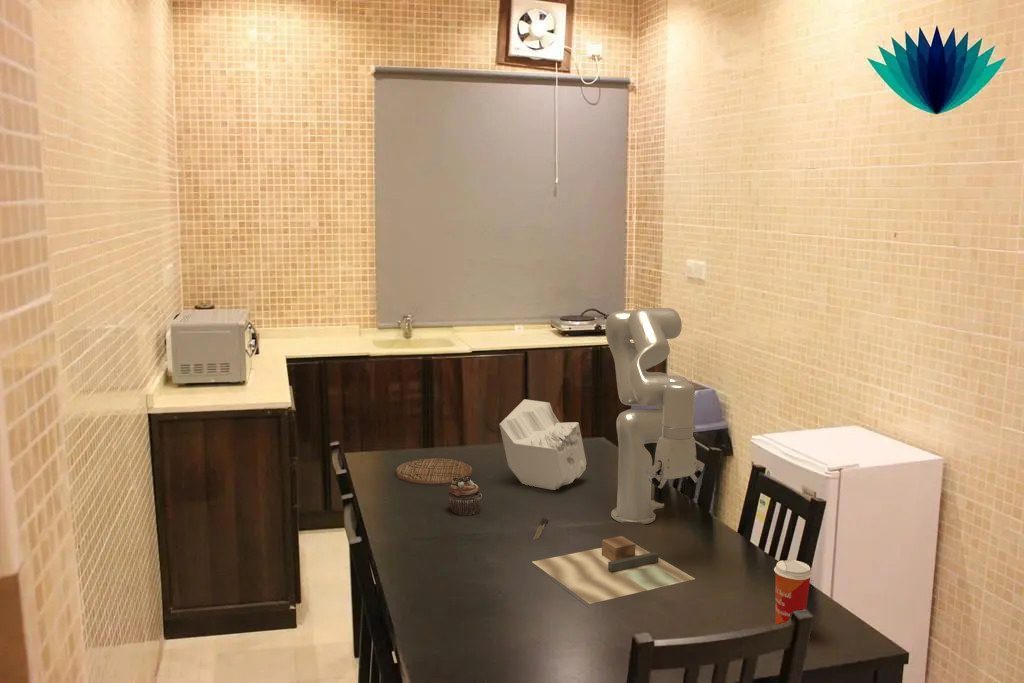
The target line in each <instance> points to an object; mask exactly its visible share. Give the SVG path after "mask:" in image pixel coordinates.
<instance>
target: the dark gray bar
mask: <svg viewBox="0 0 1024 683" xmlns="http://www.w3.org/2000/svg"><path fill="white" fill-rule="evenodd" d="M659 555H660V554H659V553H657V552H655V551H654V552H650V553H648V554H643V555H639V556H634V557H629V558H624V559H620V560H615V561H610V562H608V570H609V571H611V572H614V571H619V570H623V569H628V568H632V567H637V566H641V565H646V564H651V563H655V562H658V559H659V558H660V556H659Z"/></svg>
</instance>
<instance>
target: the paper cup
mask: <svg viewBox="0 0 1024 683" xmlns="http://www.w3.org/2000/svg"><path fill="white" fill-rule="evenodd" d="M773 571H774V572H775V591H774V593H775V596H774V597H775V600H774V601H775V615H774V616H775V617H774V618H775V625H776V624H781V623H786V622H787V621H788V620H789V618H790V614H791V613H792V612H793V611H796V610H803V609H806V610H807V606H808V605H807V604H808V598H809V591H810V584H811V577H813V572H812V571H811V567H810V565H809V564H808V563H806V562H803V561H799V560H795V559H792V560H790V559H789V560H779V561H778V562H776V566H774V568H773Z"/></svg>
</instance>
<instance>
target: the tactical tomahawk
mask: <svg viewBox="0 0 1024 683" xmlns="http://www.w3.org/2000/svg"><path fill="white" fill-rule="evenodd" d="M547 522H549V519H548V518H547V517H545V516H543V517H542V518H541V520H540V523H539V525H538V527H537V529H536V532H535V534H534V536H533V538H532V539H533V540H535V539H540V537H541V534H542V533H543V531H544V529H545V527H546V525H547Z"/></svg>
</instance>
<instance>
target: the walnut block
mask: <svg viewBox="0 0 1024 683" xmlns="http://www.w3.org/2000/svg"><path fill="white" fill-rule="evenodd" d="M636 545H637V544H636V543H634V542H633V541H631V540H630V539H628V538H626V537H624V536H623V535H620V536H614V537H609V538H605V539H602V540H601V548H602V555H603V556H604V557H606V558H607V559H609V560H610V561H615V560H620V559H624V558H629V557H634V556H635V547H636Z"/></svg>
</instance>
